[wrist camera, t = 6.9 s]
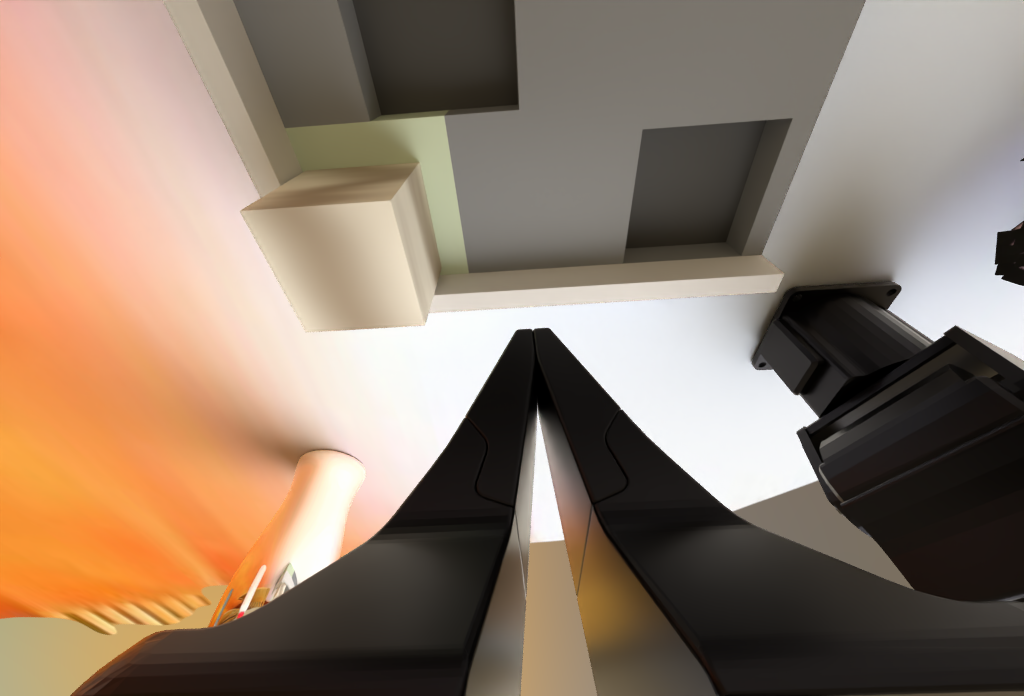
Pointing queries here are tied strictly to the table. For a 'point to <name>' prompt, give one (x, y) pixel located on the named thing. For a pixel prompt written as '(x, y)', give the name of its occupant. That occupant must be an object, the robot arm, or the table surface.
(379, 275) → the ivory block
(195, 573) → the table surface
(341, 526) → the beer glass
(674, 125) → the trap deck
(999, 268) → the decorative flower
